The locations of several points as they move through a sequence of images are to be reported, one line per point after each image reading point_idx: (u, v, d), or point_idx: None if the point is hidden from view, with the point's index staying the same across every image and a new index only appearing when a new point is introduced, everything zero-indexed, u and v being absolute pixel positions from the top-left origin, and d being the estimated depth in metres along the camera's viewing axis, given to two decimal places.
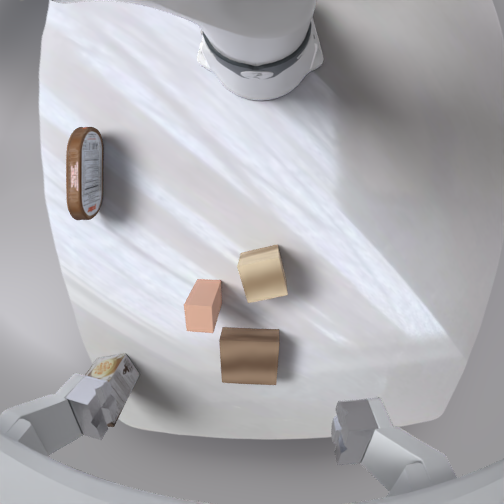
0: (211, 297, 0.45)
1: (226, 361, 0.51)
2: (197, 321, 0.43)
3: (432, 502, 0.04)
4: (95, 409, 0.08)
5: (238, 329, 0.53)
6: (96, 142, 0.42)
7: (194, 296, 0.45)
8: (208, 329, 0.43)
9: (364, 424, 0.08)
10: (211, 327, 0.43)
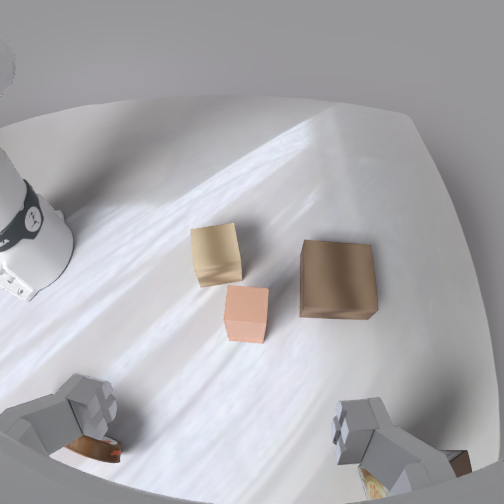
0: None
1: (339, 300, 0.38)
2: (250, 306, 0.32)
3: (432, 502, 0.04)
4: (95, 409, 0.08)
5: (300, 296, 0.42)
6: None
7: None
8: (263, 293, 0.33)
9: (364, 424, 0.08)
10: (260, 289, 0.33)
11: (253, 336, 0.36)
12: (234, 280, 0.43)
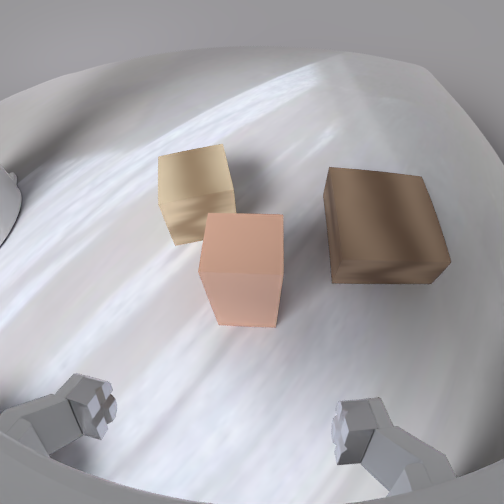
0: None
1: (395, 249, 0.22)
2: (249, 245, 0.17)
3: (432, 502, 0.04)
4: (95, 409, 0.08)
5: (330, 250, 0.27)
6: None
7: None
8: (273, 223, 0.18)
9: (364, 424, 0.08)
10: (267, 216, 0.18)
11: (258, 313, 0.21)
12: None
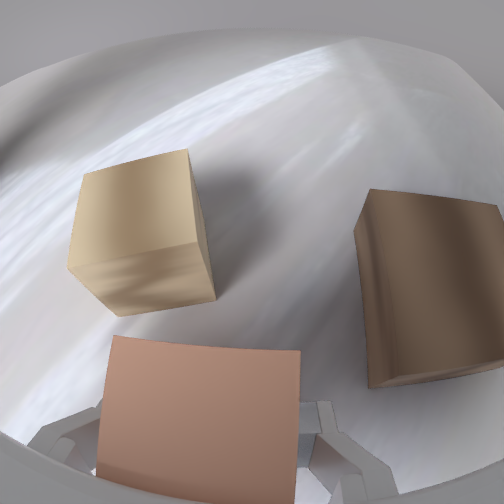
0: None
1: (477, 341, 0.11)
2: (209, 444, 0.05)
3: (432, 502, 0.04)
4: None
5: (368, 333, 0.15)
6: None
7: None
8: (274, 378, 0.06)
9: (307, 427, 0.08)
10: (257, 357, 0.06)
11: None
12: (195, 299, 0.16)
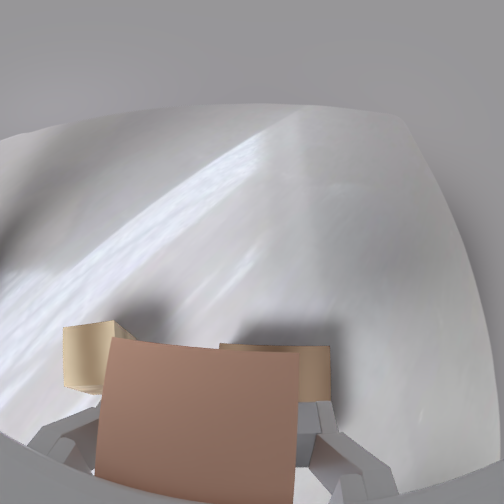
0: None
1: None
2: (207, 446, 0.05)
3: (432, 502, 0.04)
4: None
5: None
6: None
7: None
8: (273, 381, 0.06)
9: (307, 427, 0.08)
10: (256, 360, 0.06)
11: None
12: None
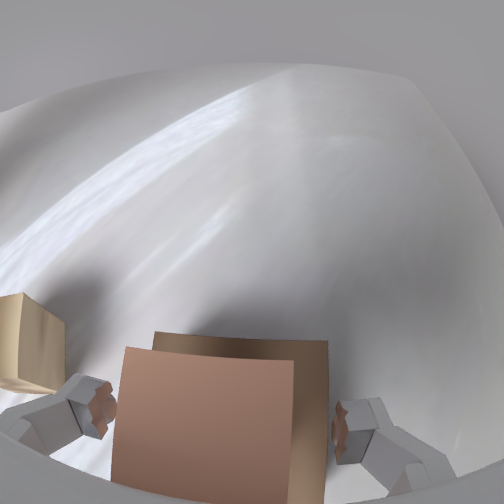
0: None
1: None
2: (213, 443, 0.06)
3: (432, 502, 0.04)
4: (95, 409, 0.08)
5: None
6: None
7: None
8: (270, 385, 0.07)
9: (364, 424, 0.08)
10: (255, 367, 0.07)
11: None
12: (51, 392, 0.17)
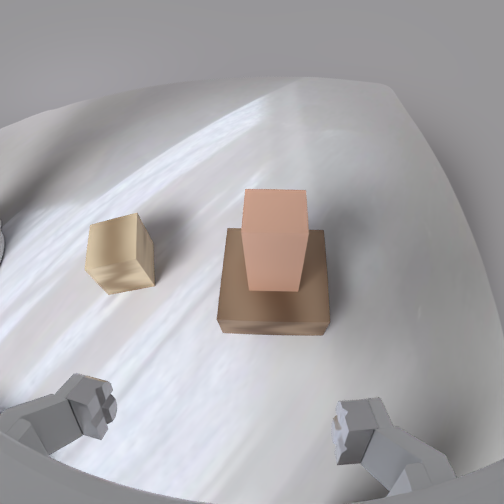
0: None
1: (269, 310, 0.27)
2: (280, 212, 0.21)
3: (432, 502, 0.04)
4: (95, 409, 0.08)
5: None
6: None
7: None
8: (298, 196, 0.22)
9: (364, 424, 0.08)
10: (293, 191, 0.22)
11: (285, 274, 0.25)
12: (144, 285, 0.33)
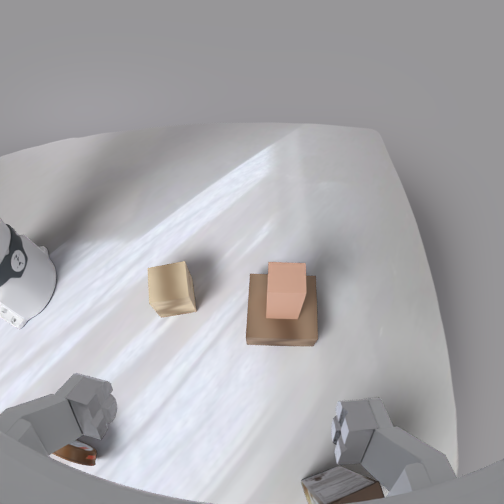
0: None
1: (279, 331, 0.42)
2: (290, 279, 0.36)
3: (432, 502, 0.04)
4: (95, 409, 0.08)
5: None
6: None
7: None
8: (301, 267, 0.37)
9: (364, 424, 0.08)
10: (297, 264, 0.37)
11: (290, 311, 0.40)
12: (189, 311, 0.47)
